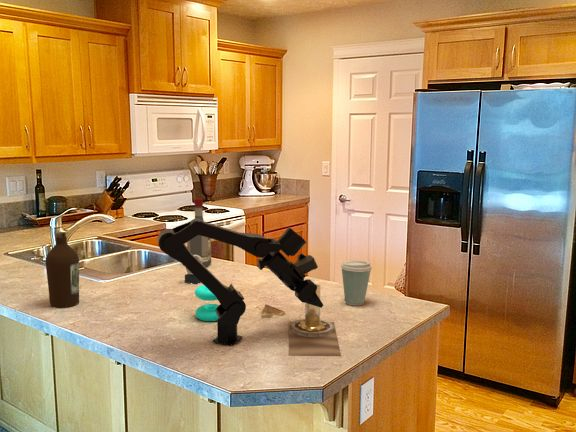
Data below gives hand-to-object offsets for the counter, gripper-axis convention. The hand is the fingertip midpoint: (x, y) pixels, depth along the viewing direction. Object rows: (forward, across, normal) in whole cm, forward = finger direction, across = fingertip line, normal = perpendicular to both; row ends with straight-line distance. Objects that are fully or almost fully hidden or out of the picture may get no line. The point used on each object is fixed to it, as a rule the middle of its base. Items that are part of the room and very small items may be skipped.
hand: (317, 301), depth 164 cm
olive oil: (-47, +47, +61) cm, 90 cm away
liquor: (-11, +90, +25) cm, 94 cm away
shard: (0, +20, +15) cm, 25 cm away
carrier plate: (+4, -6, +9) cm, 12 cm away
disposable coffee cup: (+22, +24, -9) cm, 34 cm away
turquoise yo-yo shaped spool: (-14, +21, +28) cm, 37 cm away
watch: (-14, +64, +28) cm, 71 cm away
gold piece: (+5, 0, +7) cm, 9 cm away
